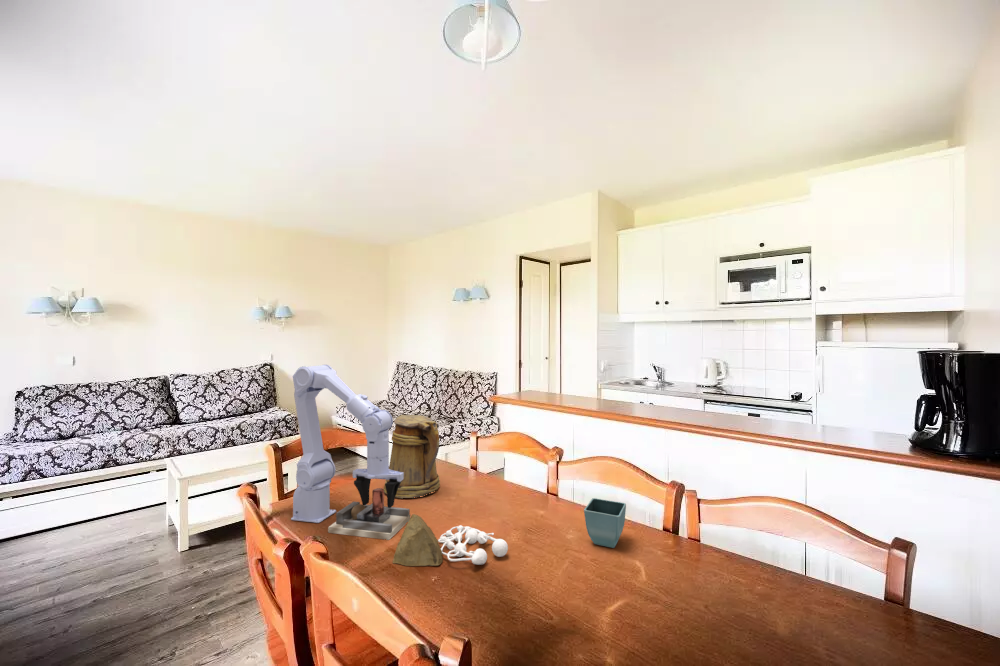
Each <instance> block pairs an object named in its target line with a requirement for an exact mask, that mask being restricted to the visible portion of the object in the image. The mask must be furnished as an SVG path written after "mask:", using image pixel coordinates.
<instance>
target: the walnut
mask: <svg viewBox="0 0 1000 666" xmlns="http://www.w3.org/2000/svg"><path fill="white" fill-rule="evenodd" d="M364 509H365V506H364V505H363V504H362V503H360V504H358V505H356V506H354V507H353V509H352V511H351V515H352V517H353V518H354V519H355V520H357V514H358V513H359V512H361V511H362V510H364Z"/></svg>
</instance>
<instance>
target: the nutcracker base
mask: <svg viewBox="0 0 1000 666" xmlns="http://www.w3.org/2000/svg"><path fill="white" fill-rule="evenodd" d="M358 504H361V503H360V501H352V502H350V503H349V504H348V505H346V506H344V507H343V508H342V509H340V510H339V511H336V512H335V513H336V515H335V517H336V518H335V522H333V523H332V524H330V525H329V526H327V532H328V534H338V535H345V536H346V535H347V536H353V537H362V538H371V539H377V540H385V539H386V541H390V540H391V539H392V538H393V537H394V536H396V534H397V533H399V532H400V530H401V529H403V527H405V526H406V525H407V524H406V523H407V522H408V521H409V520H410V518H411V513H410V508H404V507H397V506H396V507H395V506H392V507H391V508H390V517H389V518H388V519H387V520H386V521H385V522H383V523H375V522H366V521H357V520H355V519H354V518H353V517H352V515H351V511H352V509H353V507H354V506H356V505H358ZM369 505H370V504H366V505H364V506H365V508H366V507H368V506H369ZM384 508H388V506H385V505H384Z"/></svg>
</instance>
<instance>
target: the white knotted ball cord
mask: <svg viewBox="0 0 1000 666" xmlns="http://www.w3.org/2000/svg"><path fill="white" fill-rule="evenodd" d="M454 529H457V532H455V533H454V534H453V532H452V531H453V530H454ZM464 534H465V535H464ZM494 534H495V533H494V532H490V533H486V532H485V531H483V530H482V531H481V530H479V529H477V528H474V527H471V526H469V525H468V526H463V525H462V524H460V525H457V526H453V527H451V528H450V529H448V530H446V531H445V532H444V533H442V534H441V535H440V537H439V538H438V539H437V540H438V543H440V544H442V546H441V547H440V549H441V551H442V556H443V555H444V556H446V558H447V560H448V561H449V562H460V561H471V563H472V564H473V565H479V566H480V565H481V566H482V565H485V563H486V562H487V559H488V554H487V551H485V549H484V548H476V550H474V551H473V550H469V551H467V546H466V545H467V543H468V544H470V545H473V544H476V543H479V544H480V545H481V544H485V543H487V542H488V540H489V541H491V542H492V545H491V550H492V553H493V555H495V556H496V557H497V558H498V557H499V558H500V557H501V558H502V557H505V556H506V554H507V553H508V550H509V545H508V543H507V541H506V540H504V539H503V538H495V537H493V536H494ZM463 535H464V539H465V541H464V542H461V541H462V540H463ZM454 541H456V542H457V543H456V544H455V543H454ZM444 547H447V549H448V550H449V551H448V552H447V553H446V552H444V551H443V550H444ZM453 553H454V554H453ZM464 556H467V557H464ZM450 557H452V558H450ZM453 557H459V558H453ZM460 557H461V558H460Z"/></svg>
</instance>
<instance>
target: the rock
mask: <svg viewBox="0 0 1000 666" xmlns="http://www.w3.org/2000/svg"><path fill="white" fill-rule="evenodd" d="M438 540H439V539H437V537H436V535H435V534H434V532H433V529H432V528H431V527H430V526H429V525H428V524H427V522H426V521H425V520H424V519H423V518H422V517H421V516H420V515H418V514H415V513H413V514H412V515H410V520H409V521H408V523H407V524H405V526H404V530H403V532H402V534H401V538H400V539H399V542H398V543H397V546H396V550H395V551H394V554H393V560H392V564H394V565H395V564H398V565H402V566H406V567H407V566H408V567H427V566H431V567H432V566H435V567H436V566H437V567H438V566H440V565H441V564H442V563H443V557H444V556H443V554H442V552H443V550H442V551H441V547H440V544H439V543H440V542H438Z"/></svg>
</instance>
